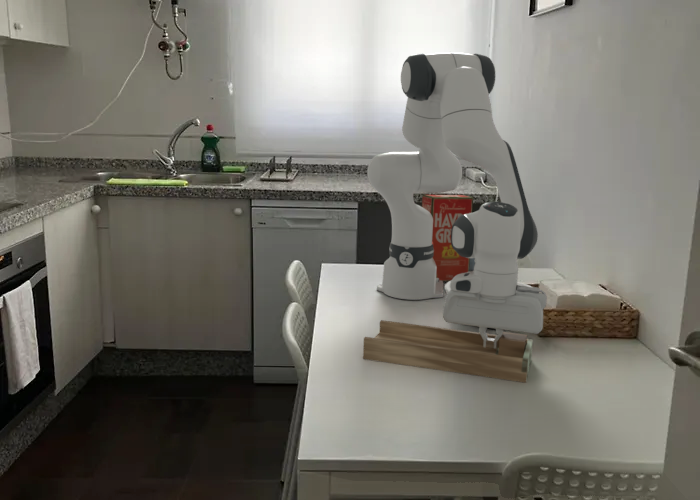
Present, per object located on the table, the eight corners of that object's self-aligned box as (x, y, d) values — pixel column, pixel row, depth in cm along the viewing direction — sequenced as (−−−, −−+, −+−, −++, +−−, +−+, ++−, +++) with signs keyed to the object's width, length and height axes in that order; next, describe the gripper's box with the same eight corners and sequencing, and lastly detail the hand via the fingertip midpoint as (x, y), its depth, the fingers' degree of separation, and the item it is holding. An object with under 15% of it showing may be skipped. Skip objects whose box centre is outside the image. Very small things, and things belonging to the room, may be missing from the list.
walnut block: (501, 349, 148) (502, 331, 147) (525, 353, 147) (527, 334, 146) (498, 357, 144) (499, 339, 143) (523, 361, 142) (524, 342, 141)
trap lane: (380, 339, 158) (381, 320, 157) (531, 359, 148) (532, 339, 147) (363, 358, 146) (363, 338, 145) (525, 382, 136) (527, 360, 135)
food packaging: (428, 282, 205) (431, 196, 202) (417, 276, 214) (420, 194, 211) (470, 281, 209) (474, 196, 205) (458, 275, 218) (462, 194, 214)
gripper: (548, 284, 143) (542, 349, 146) (448, 274, 149) (445, 336, 152) (546, 292, 137) (540, 359, 140) (442, 281, 144) (439, 345, 147)
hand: (490, 347), depth 146 cm, fingers closed
